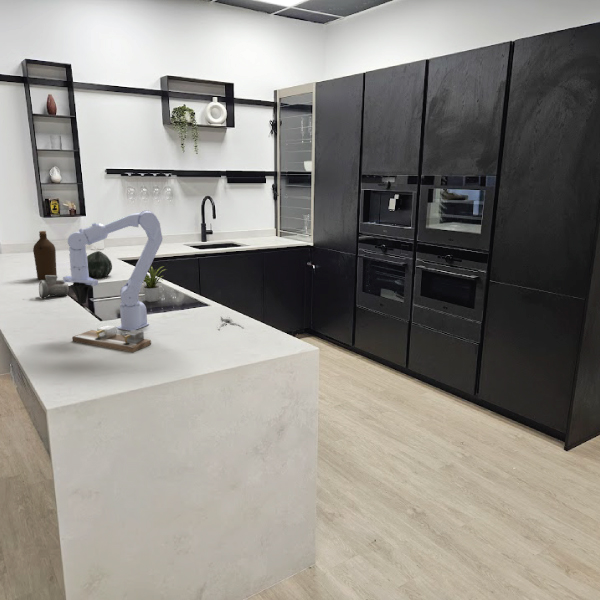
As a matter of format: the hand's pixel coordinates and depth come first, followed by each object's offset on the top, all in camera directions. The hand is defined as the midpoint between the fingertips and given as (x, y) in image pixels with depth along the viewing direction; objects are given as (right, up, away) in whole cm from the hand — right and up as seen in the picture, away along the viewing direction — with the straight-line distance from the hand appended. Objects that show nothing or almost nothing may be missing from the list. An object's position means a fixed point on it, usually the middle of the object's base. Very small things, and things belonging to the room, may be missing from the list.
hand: (82, 303), depth 188 cm
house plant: (+13, +1, +49) cm, 51 cm away
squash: (-32, +14, +98) cm, 104 cm away
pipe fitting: (-35, +3, +53) cm, 63 cm away
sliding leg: (+11, -11, -9) cm, 18 cm away
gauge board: (+14, -13, -10) cm, 22 cm away
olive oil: (-57, +13, +91) cm, 108 cm away
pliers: (+51, -9, +15) cm, 53 cm away
